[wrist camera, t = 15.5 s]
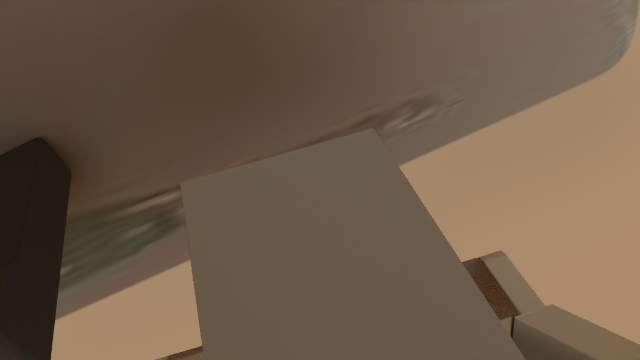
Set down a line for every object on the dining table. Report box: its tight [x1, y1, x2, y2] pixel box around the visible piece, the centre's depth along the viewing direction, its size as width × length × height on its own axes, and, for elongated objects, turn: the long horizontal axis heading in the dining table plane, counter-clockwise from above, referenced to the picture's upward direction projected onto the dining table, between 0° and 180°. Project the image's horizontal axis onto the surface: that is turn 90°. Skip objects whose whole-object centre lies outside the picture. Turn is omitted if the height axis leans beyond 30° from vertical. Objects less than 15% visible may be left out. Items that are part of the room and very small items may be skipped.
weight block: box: [180, 128, 526, 360], centre depth 12 cm, size 4×4×7 cm
